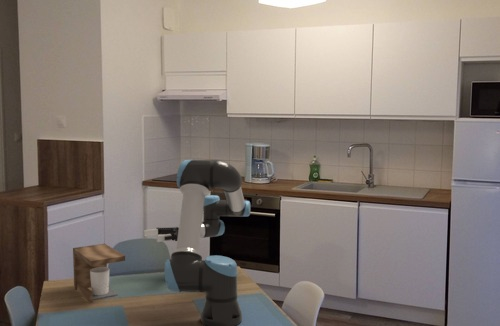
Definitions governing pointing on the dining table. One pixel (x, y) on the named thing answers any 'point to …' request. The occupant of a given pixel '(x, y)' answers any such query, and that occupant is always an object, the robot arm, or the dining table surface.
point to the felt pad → (109, 294)
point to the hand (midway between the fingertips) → (150, 236)
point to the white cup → (99, 280)
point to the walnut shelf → (91, 265)
